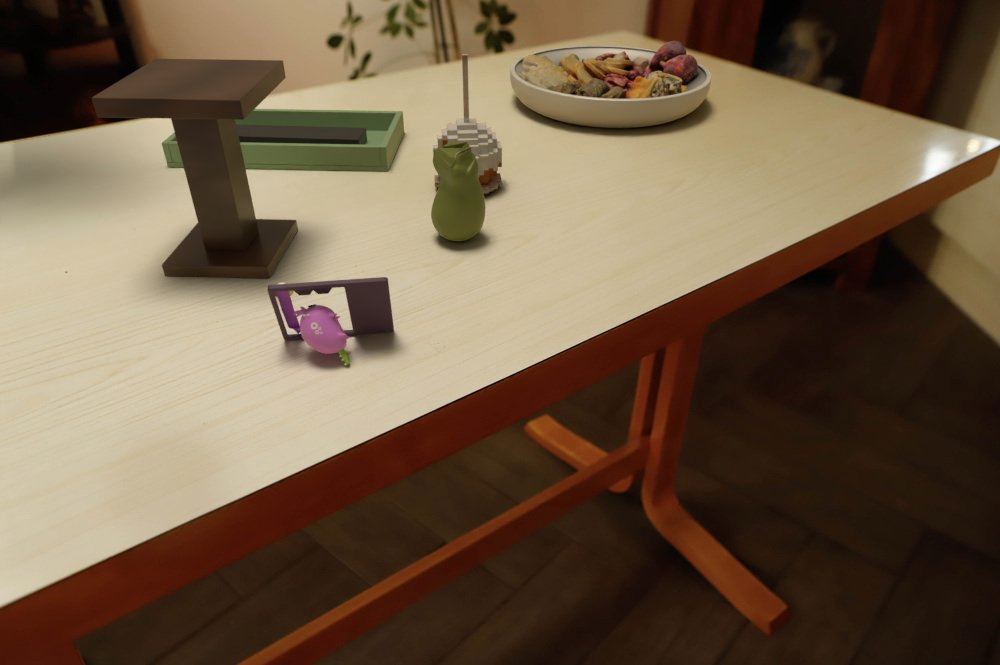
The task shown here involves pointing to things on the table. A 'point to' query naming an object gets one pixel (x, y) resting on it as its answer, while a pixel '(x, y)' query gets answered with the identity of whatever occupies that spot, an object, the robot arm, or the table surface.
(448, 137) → the decorative ornament
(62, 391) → the table surface
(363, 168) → the green tray
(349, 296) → the pop-out character card
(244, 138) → the black rectangular bar
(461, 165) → the green rounded figure
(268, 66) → the walnut stand
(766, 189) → the table surface
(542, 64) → the bowl
